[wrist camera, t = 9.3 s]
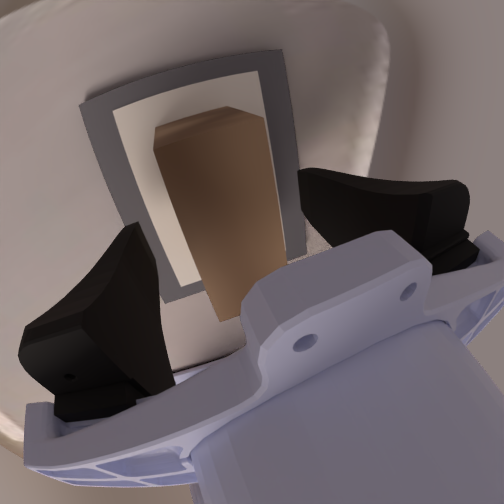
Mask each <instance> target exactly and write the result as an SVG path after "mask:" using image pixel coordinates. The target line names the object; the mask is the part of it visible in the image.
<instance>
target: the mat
mask: <svg viewBox="0 0 504 504" xmlns="http://www.w3.org/2000/svg"><path fill="white" fill-rule="evenodd" d="M225 106H229V107H233V108H236V109H239V110H242V111H245V112H249V113H252V114H255V115H258V116H261V117H263V118H264V121H265V127H266V132H267V138H268V144H269V149H270V155H271V161H272V167H273V173H274V179H275V185H276V191H277V197H278V204H279V210H280V217H281V223H282V230H283V237H284V244H285V251H286V258H287V261H289V260H292V259H295V258H297V257H300V256H303V255H306V254H307V248H306V234H305V222H304V214H303V212H302V211H301V205H300V195H299V186H298V177H297V171H298V170H299V161H298V152H297V144H296V136H295V129H294V121H293V114H292V107H291V100H290V94H289V88H288V81H287V75H286V69H285V64H284V58H283V52H282V49H280V50H269V51H261V52H253V53H246V54H239V55H233V56H227V57H222V58H217V59H212V60H207V61H203V62H198V63H194V64H190V65H186V66H182V67H179V68H175V69H171V70H168V71H165V72H161V73H158V74H155V75H152V76H149V77H146V78H143V79H140V80H137V81H134V82H131V83H129V84H126V85H123V86H121V87H118V88H116V89H113V90H111V91H108V92H106V93H104V94H101V95H99V96H97V97H95V98H92V99H90V100H88V101H86V102H84V103H82V104H80V105H79V108H80V111H81V114H82V117H83V121H84V124H85V127H86V130H87V133H88V136H89V139H90V141H91V144H92V147H93V150H94V153H95V155H96V158H97V161H98V163H99V166H100V169H101V171H102V174H103V176H104V179H105V181H106V184H107V186H108V188H109V191H110V193H111V196H112V198H113V200H114V203H115V205H116V207H117V210H118V212H119V214H120V216H121V218H122V221H123V223H124V225H125V226H127V225H130V224H132V223H135V222H137V221H139V224H140V226H141V228H142V230H143V233H144V235H145V237H146V239H147V242H148V244H149V246H150V248H151V250H152V252H153V254H154V257H155V259H156V264H157V270H158V276H159V294H160V296H161V297H162V299H163V301H164V303H165V304H166V303H169V302H172V301H175V300H178V299H181V298H184V297H187V296H190V295H193V294H196V293H198V292H201V291H204V290H206V289H205V287H204V284H203V282H202V279H201V277H200V275H199V272H198V270H197V267H196V265H195V263H194V260H193V258H192V255H191V253H190V250H189V248H188V245H187V243H186V240H185V237H184V235H183V232H182V230H181V227H180V224H179V222H178V219H177V217H176V214H175V211H174V209H173V206H172V203H171V200H170V198H169V195H168V192H167V189H166V186H165V184H164V181H163V178H162V175H161V172H160V169H159V166H158V163H157V160H156V158H155V155H154V152H153V144H154V135H155V127H158V126H161V125H164V124H167V123H170V122H173V121H176V120H179V119H182V118H185V117H188V116H192V115H195V114H199V113H202V112H206V111H209V110H213V109H217V108H221V107H225Z"/></svg>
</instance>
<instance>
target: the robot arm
mask: <svg viewBox="0 0 504 504" xmlns="http://www.w3.org/2000/svg"><path fill="white" fill-rule="evenodd" d="M297 177H298V186H299V195H300V205H301V211H302V212H303V214H304V215H305V217H306V218H307V220H308V221H309V222H310V224H311V225H312V226H313V227H314V228H315V229H316V230H317V231H318V233H319V234H320V235H321V236H322V237H323V238H324V239H325V240H326V241H327V242H328V243H329V244H330V245H331V246H332V247H333V248H331V249H329V250H326V251H324V252H321V253H318V254H316V255H313V256H310V257H307V258H305V259H302V260H299V261H297V262H294V263H291V264H288V265H286V266H283V267H280V268H279V269H277V270H275V271H274V272H272V273H270V274H269V275H267V276H265V277H264V278H262V279H260V280H259V281H257V282H256V283H255V284H254V286H253V287H252V288H251V290H250V291H249V292H248V294H247V295H246V296H245V298H244V299H243V300H242V302H241V315H240V321H241V324H242V327H243V330H244V333H245V336H246V345H245V346H244V347H243V348H241V349H239V350H238V351H236V352H234V353H233V354H231V355H229V356H227V357H225V358H222V359H219V360H216V361H213V362H210V363H207V364H203V365H200V366H197V367H194V368H191V369H187V370H184V371H180V372H177V373H172V369H171V366H170V362H169V358H168V354H167V350H166V346H165V341H164V336H163V331H162V325H161V316H160V296H159V276H158V270H157V264H156V259H155V257H154V254H153V252H152V250H151V248H150V246H149V244H148V242H147V239H146V237H145V235H144V233H143V230H142V228H141V226H140V224H139V221H137V222H135V223H132V224H130V225H127V226H125V227H124V228H123V229H122V230H121V232H120V233H119V234H118V235H117V237H116V238H115V239H114V241H113V242H112V243H111V245H110V246H109V248H108V249H107V250H106V252H105V253H104V254H103V255H102V257H101V258H100V259H99V261H98V262H97V263H96V265H95V266H94V267H93V268H92V269H91V270H90V272H89V273H88V274H87V275H86V276H85V277H84V278H83V279H82V280H81V281H80V282H79V283H78V284H77V285H76V286H75V287H74V288H73V289H72V290H71V291H70V292H69V293H68V294H67V295H66V296H65V297H64V298H63V299H61V300H60V301H59V302H58V303H57V304H55V305H54V306H53V307H52V308H50V309H49V310H48V311H47V312H45V313H44V314H43V315H41V316H40V317H38V318H37V319H35V320H34V321H33V322H31V323H30V324H28V325H27V326H25V329H24V332H23V336H22V339H21V343H20V347H19V352H18V357H19V361H20V363H21V365H22V366H23V368H24V369H25V371H26V372H27V373H28V374H29V375H30V376H31V377H32V378H34V379H35V380H36V381H37V382H38V383H40V384H41V385H42V386H43V387H45V388H46V389H47V390H49V391H50V392H51V393H52V394H54V395H55V401H54V403H51V402H37V403H29V404H27V405H26V414H25V427H24V466H25V467H26V468H28V469H31V470H33V471H35V472H38V473H40V474H43V475H45V476H48V477H51V478H53V479H56V480H59V481H62V482H65V483H68V484H71V485H75V486H94V487H157V486H172V485H181V484H189V486H190V491H191V495H192V499H193V502H194V504H504V395H503V394H502V392H501V391H500V389H499V388H498V387H497V385H496V384H495V383H494V381H493V380H492V379H491V377H490V376H489V375H488V373H487V372H486V371H485V370H484V368H483V367H482V366H481V365H480V363H479V362H478V361H477V360H476V359H475V357H474V356H473V355H472V353H471V352H470V351H469V350H468V349H467V347H466V346H467V345H468V344H469V343H470V342H471V341H472V340H473V339H474V338H475V337H476V336H477V335H478V334H479V333H480V332H481V331H482V330H483V328H484V327H485V326H486V325H487V324H488V323H489V322H490V321H491V320H492V319H493V318H494V316H495V315H496V314H497V313H498V312H499V311H500V310H501V309H502V308H503V307H504V242H503V241H502V240H500V239H499V238H498V237H496V236H495V235H494V234H493V233H491V232H490V231H489V230H487V231H486V232H484V233H482V234H481V235H479V236H478V237H477V238H476V239H475V240H474V242H473V243H472V242H471V241H469V240H468V239H467V238H468V237H469V233H468V232H467V231H465V230H464V226H465V222H466V218H467V214H468V210H469V204H470V195H469V191H468V188H467V187H466V185H464V184H462V183H461V182H459V181H457V180H443V181H429V182H428V181H426V182H408V181H391V180H382V179H373V178H367V177H361V176H356V175H351V174H346V173H341V172H336V171H331V170H326V169H320V168H306V169H302V170H298V171H297Z"/></svg>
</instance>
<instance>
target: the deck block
mask: <svg viewBox="0 0 504 504" xmlns="http://www.w3.org/2000/svg"><path fill="white" fill-rule="evenodd" d="M153 152H154V155H155V158H156V160H157V163H158V166H159V169H160V172H161V175H162V178H163V181H164V184H165V186H166V189H167V192H168V195H169V198H170V200H171V203H172V206H173V209H174V211H175V214H176V217H177V219H178V222H179V224H180V227H181V230H182V232H183V235H184V237H185V240H186V243H187V245H188V248H189V250H190V253H191V255H192V258H193V260H194V263H195V265H196V267H197V270H198V272H199V275H200V277H201V279H202V282H203V284H204V287H205V289H206V291H207V294H208V296H209V298H210V301H211V303H212V305H213V307H214V310H215V312H216V314H217V317H218V319H219V321H220V322H222V321H225V320H228V319H230V318H233V317H236V316H239V315H241V302H242V300H243V299H244V298H245V296H246V295H247V294H248V292H249V291H250V290H251V288H252V287H253V286H254V284H255V283H256V282H257V281H259V280H260V279H262V278H264V277H265V276H267V275H269V274H270V273H272V272H274V271H275V270H277V269H279V268H280V267H283V266H286V265H287V258H286V251H285V244H284V237H283V230H282V223H281V217H280V210H279V204H278V197H277V191H276V185H275V179H274V173H273V167H272V161H271V155H270V149H269V144H268V138H267V132H266V127H265V121H264V118H263V117H261V116H258V115H255V114H252V113H249V112H245V111H242V110H239V109H236V108H233V107H229V106H225V107H221V108H217V109H213V110H209V111H206V112H202V113H199V114H195V115H192V116H188V117H185V118H182V119H179V120H176V121H173V122H170V123H167V124H164V125H161V126H158V127H155V135H154V144H153Z"/></svg>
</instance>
